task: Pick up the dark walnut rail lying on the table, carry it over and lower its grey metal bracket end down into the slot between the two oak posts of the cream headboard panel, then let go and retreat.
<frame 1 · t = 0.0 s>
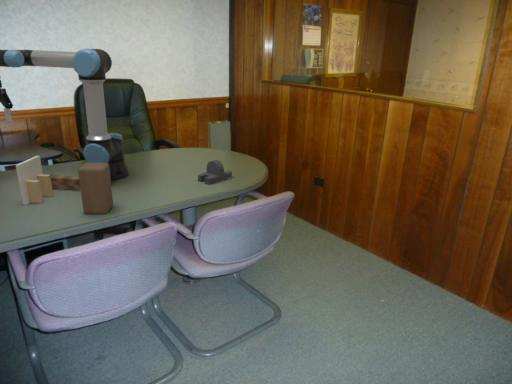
hand: (0, 124, 187), 28 cm above the table, fingers open, 13 cm apart
rail: (68, 188, 186), on the table
wooden block: (98, 210, 164), on the table
bracket: (215, 179, 209), on the table
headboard: (41, 198, 173), on the table
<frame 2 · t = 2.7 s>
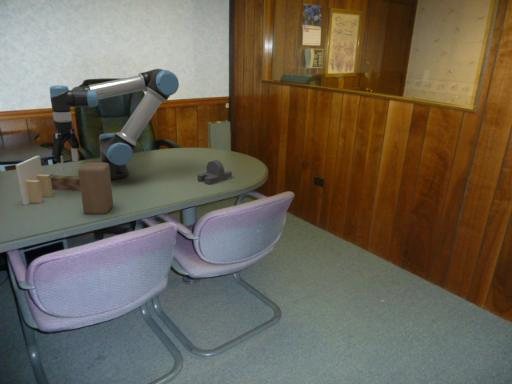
hand: (68, 165, 181), 12 cm above the table, fingers open, 13 cm apart
nothing on the table moved.
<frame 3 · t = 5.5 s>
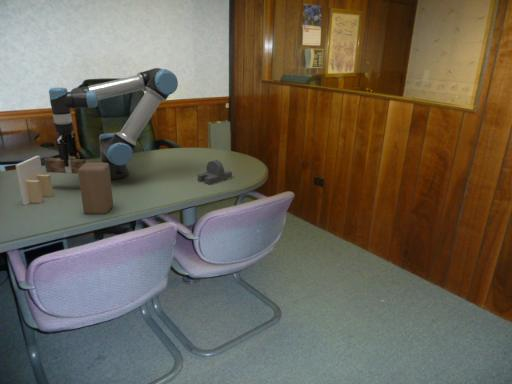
hand: (71, 171, 183), 9 cm above the table, fingers closed on rail, 4 cm apart
rail: (67, 171, 183), point 9 cm above the table, touching gripper
everything else where it was.
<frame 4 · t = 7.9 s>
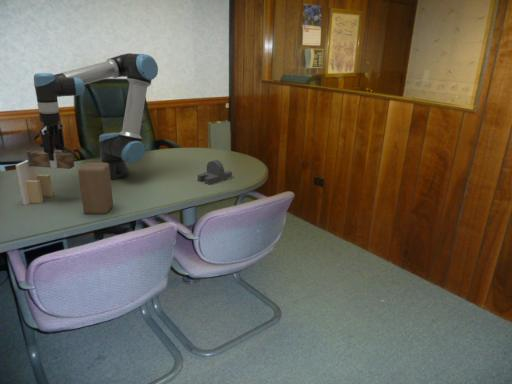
hand: (57, 165, 167), 16 cm above the table, fingers closed on rail, 4 cm apart
rail: (52, 166, 167), point 16 cm above the table, touching gripper
everything else where it was.
when the fingers open (0 cm above the table, at t = 10.8 s): rail stays where it is, on the table.
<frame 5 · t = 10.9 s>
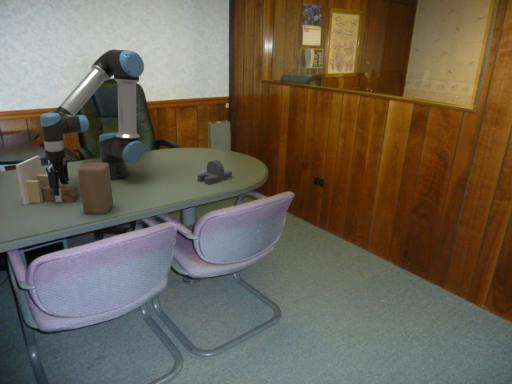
hand: (61, 199, 172), 0 cm above the table, fingers open, 4 cm apart
rail: (57, 199, 172), on the table, touching gripper
everything else where it was.
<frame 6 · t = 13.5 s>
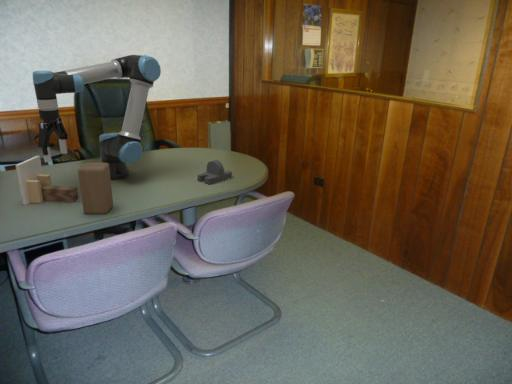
hand: (56, 157, 168), 19 cm above the table, fingers open, 13 cm apart
rail: (57, 199, 172), on the table
everything else where it was.
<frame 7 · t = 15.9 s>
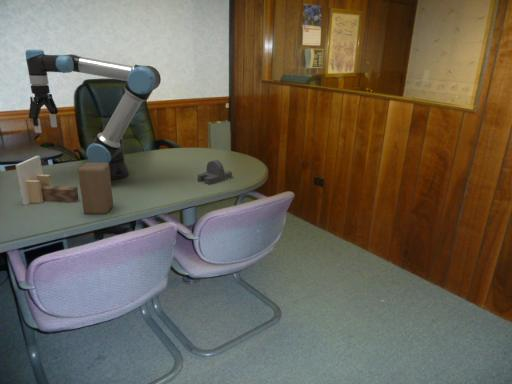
hand: (46, 129, 185), 27 cm above the table, fingers open, 13 cm apart
nothing on the table moved.
at the end: rail 0.9 cm from the target spot on the table beside the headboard, on the table; rail tilted 0°; the gripper is holding nothing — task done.
